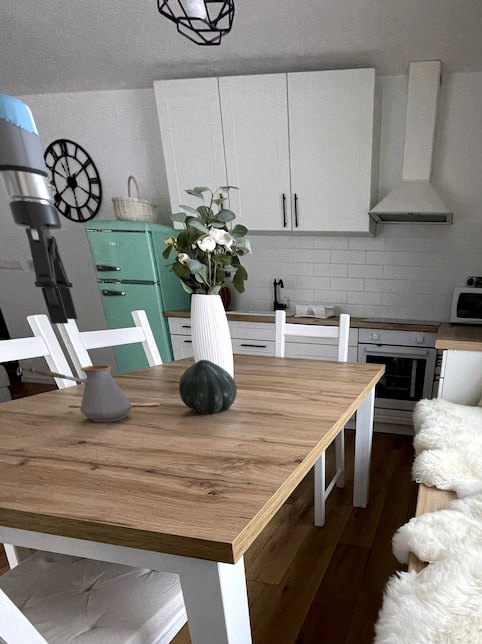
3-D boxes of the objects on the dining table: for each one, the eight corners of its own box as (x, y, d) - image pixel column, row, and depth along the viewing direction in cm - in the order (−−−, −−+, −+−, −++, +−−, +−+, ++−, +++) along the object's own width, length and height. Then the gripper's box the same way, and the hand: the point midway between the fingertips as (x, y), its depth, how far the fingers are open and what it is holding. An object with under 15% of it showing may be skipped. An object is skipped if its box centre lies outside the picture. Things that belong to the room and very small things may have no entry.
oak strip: (69, 407, 111) (68, 405, 111) (74, 404, 114) (74, 403, 114) (158, 406, 114) (157, 405, 114) (161, 403, 117) (161, 402, 116)
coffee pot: (122, 409, 110) (109, 353, 104) (142, 417, 104) (128, 358, 97) (30, 426, 95) (7, 363, 89) (46, 437, 89) (23, 369, 82)
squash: (215, 381, 120) (183, 346, 107) (253, 389, 115) (225, 353, 101) (192, 420, 116) (155, 388, 103) (230, 430, 110) (197, 398, 97)
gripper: (43, 193, 68) (78, 325, 77) (66, 214, 88) (92, 317, 97) (-13, 187, 65) (30, 325, 74) (24, 211, 85) (55, 317, 94)
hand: (65, 321), depth 85 cm, fingers open, 13 cm apart
